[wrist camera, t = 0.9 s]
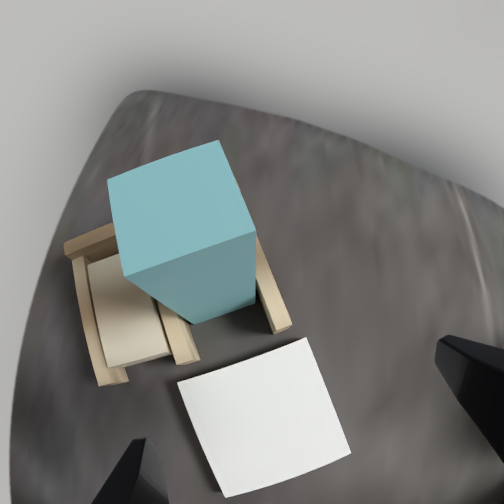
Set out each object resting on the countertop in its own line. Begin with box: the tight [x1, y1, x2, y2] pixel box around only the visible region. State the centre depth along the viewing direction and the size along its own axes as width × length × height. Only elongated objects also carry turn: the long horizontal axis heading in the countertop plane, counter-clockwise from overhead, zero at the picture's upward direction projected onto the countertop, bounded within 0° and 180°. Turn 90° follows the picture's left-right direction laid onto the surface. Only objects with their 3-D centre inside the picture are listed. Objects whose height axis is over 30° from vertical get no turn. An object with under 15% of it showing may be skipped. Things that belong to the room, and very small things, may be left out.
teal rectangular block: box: [107, 140, 256, 325], centre depth 16 cm, size 4×4×12 cm
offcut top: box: [87, 254, 173, 368], centre depth 19 cm, size 7×4×2 cm, turn 19°
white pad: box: [177, 338, 351, 498], centre depth 18 cm, size 9×9×1 cm
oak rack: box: [64, 179, 292, 386], centre depth 20 cm, size 10×13×4 cm
